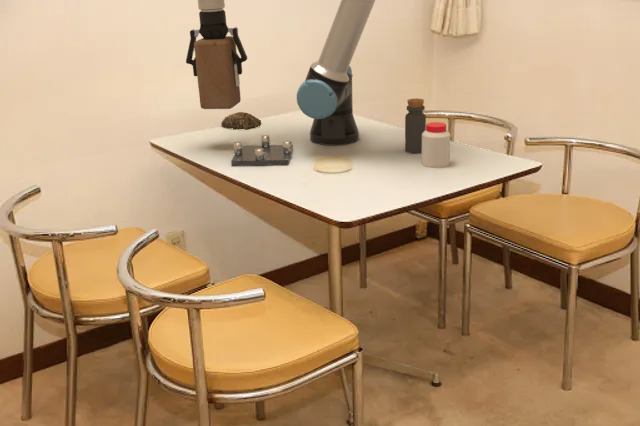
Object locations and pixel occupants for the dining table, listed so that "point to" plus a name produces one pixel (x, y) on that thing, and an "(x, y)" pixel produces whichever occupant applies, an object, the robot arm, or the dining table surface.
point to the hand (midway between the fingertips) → (219, 86)
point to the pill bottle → (435, 145)
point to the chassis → (262, 153)
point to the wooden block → (216, 73)
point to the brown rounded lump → (240, 121)
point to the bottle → (414, 126)
